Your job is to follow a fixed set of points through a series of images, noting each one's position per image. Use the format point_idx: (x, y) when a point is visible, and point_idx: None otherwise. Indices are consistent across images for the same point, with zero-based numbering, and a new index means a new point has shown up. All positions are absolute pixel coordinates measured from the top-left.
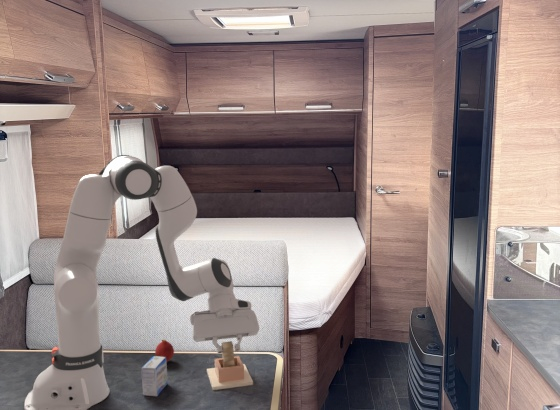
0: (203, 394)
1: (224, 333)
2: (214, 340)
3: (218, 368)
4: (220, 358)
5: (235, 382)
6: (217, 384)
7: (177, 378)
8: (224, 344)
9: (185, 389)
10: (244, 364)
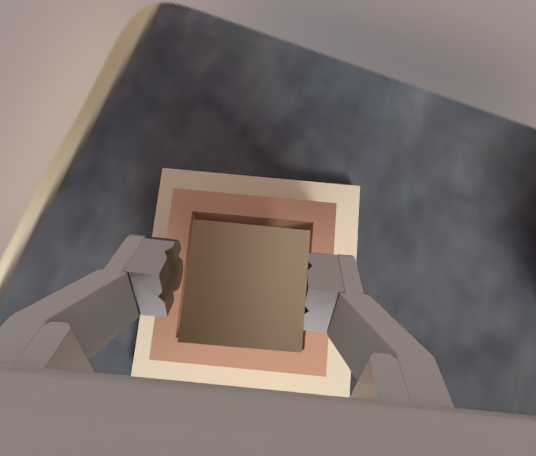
0: (401, 170)
1: (256, 409)
2: (415, 355)
3: (332, 222)
4: (285, 365)
5: (244, 189)
6: (332, 201)
7: (502, 372)
8: (282, 282)
9: (473, 244)
10: (134, 370)
